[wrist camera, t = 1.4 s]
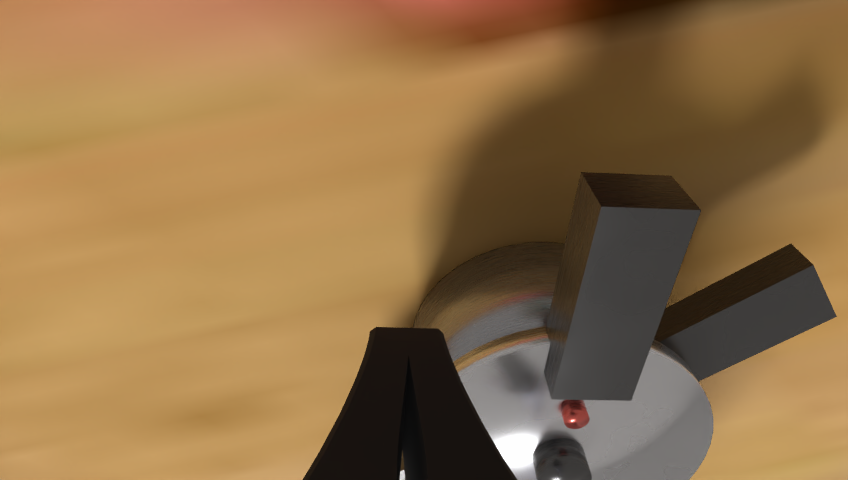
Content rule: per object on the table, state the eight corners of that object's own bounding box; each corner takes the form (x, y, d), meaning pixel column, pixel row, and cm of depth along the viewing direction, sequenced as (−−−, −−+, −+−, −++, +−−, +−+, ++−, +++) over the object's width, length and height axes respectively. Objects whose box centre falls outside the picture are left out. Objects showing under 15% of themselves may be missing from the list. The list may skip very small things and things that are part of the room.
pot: (456, 462, 30) (465, 556, 26) (324, 348, 25) (309, 441, 21) (791, 298, 24) (869, 384, 20) (701, 118, 20) (778, 181, 16)
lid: (655, 521, 24) (673, 568, 22) (399, 520, 23) (399, 568, 22) (818, 180, 16) (866, 216, 14) (423, 164, 15) (425, 200, 13)
